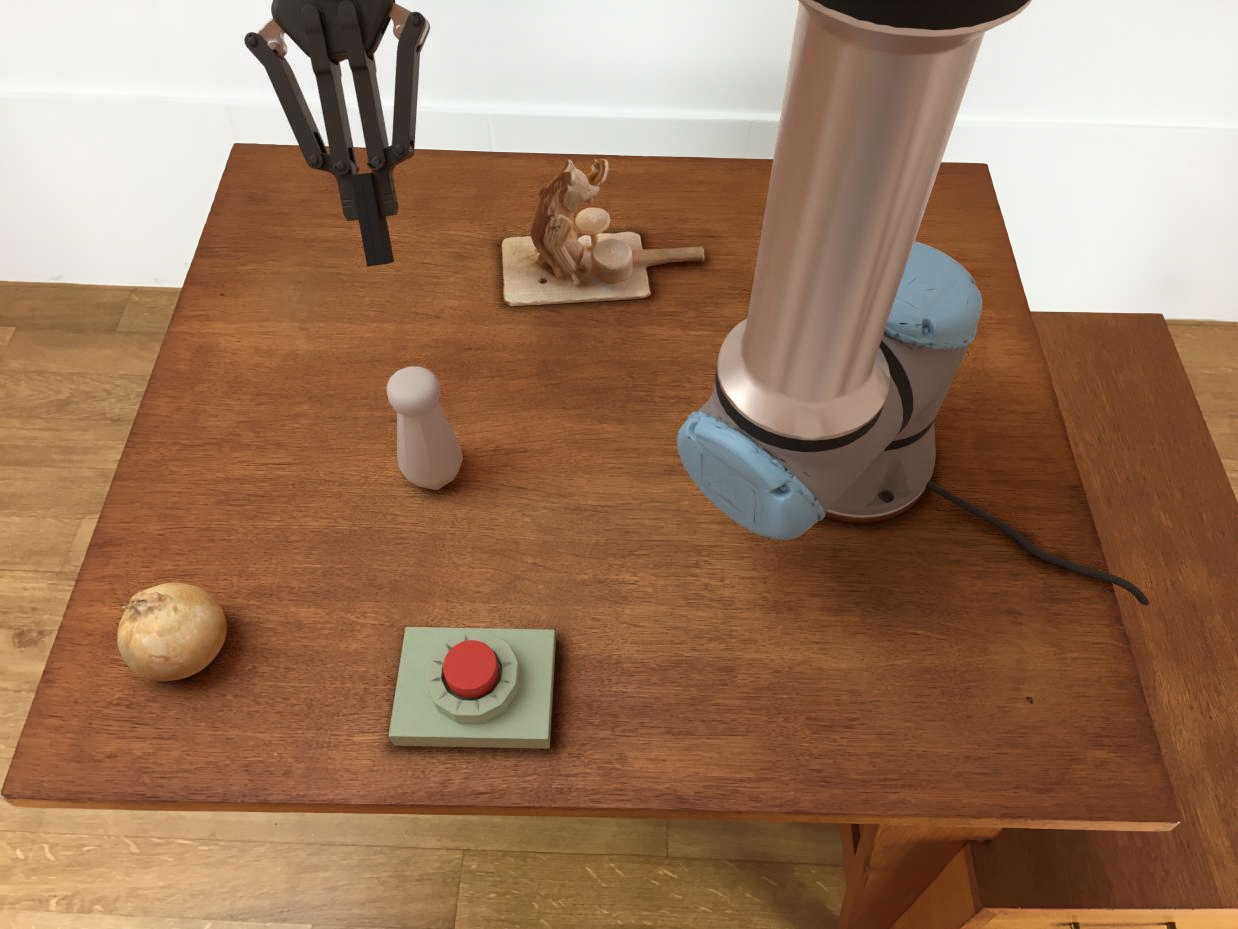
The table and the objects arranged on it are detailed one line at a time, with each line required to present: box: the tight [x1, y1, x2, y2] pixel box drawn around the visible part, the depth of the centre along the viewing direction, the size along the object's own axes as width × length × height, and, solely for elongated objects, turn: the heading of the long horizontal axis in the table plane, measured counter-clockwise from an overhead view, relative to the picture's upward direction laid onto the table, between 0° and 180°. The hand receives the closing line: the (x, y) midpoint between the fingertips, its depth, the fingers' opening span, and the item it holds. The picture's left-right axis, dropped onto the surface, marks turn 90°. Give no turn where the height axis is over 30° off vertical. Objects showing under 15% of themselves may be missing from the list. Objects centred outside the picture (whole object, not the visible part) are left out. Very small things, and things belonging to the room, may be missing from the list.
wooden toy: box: [500, 158, 705, 307], centre depth 99 cm, size 22×10×14 cm, turn 94°
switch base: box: [388, 626, 557, 750], centre depth 75 cm, size 12×9×4 cm
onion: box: [116, 582, 228, 682], centre depth 76 cm, size 8×8×7 cm
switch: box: [443, 640, 498, 698], centre depth 73 cm, size 4×4×2 cm
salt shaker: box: [386, 366, 464, 491], centre depth 83 cm, size 6×6×13 cm
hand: (380, 263), depth 72 cm, fingers closed
